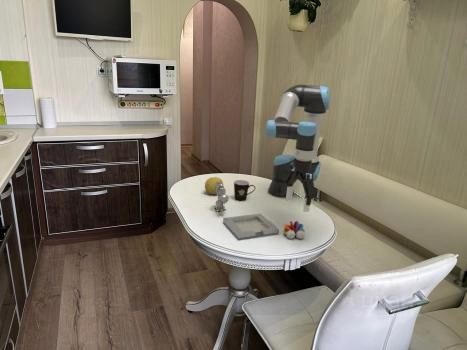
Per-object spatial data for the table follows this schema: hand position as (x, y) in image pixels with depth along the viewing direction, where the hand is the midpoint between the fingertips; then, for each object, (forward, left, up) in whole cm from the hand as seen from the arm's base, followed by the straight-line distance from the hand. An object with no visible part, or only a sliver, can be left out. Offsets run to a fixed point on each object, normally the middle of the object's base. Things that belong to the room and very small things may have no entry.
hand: (297, 205), depth 154 cm
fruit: (+17, -59, -15) cm, 63 cm away
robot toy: (+22, -34, -15) cm, 43 cm away
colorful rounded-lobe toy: (0, 0, -15) cm, 15 cm away
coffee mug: (+4, -46, -15) cm, 48 cm away
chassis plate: (+16, -12, -15) cm, 25 cm away
